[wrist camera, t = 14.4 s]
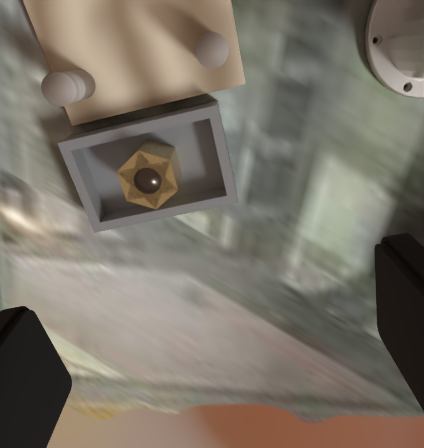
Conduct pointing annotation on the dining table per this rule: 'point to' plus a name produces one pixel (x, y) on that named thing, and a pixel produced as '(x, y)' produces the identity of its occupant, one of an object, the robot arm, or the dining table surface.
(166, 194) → the tan faceted piece
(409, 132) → the dining table surface
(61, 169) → the dining table surface
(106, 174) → the tray
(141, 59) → the spacer board
